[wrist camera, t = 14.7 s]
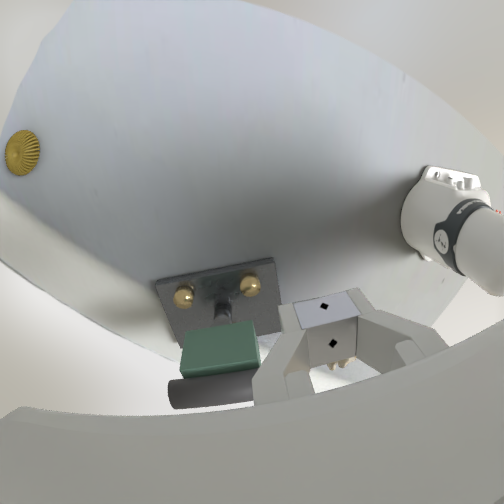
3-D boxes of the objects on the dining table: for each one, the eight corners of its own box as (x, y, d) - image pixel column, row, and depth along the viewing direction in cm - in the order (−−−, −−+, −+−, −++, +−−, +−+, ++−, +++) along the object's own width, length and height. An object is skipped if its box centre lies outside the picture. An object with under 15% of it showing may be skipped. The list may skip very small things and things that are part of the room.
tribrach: (272, 257, 48) (279, 277, 42) (283, 324, 54) (290, 348, 47) (157, 280, 48) (148, 302, 42) (182, 342, 54) (177, 367, 47)
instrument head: (261, 309, 43) (273, 380, 30) (267, 339, 45) (280, 408, 33) (177, 324, 43) (164, 394, 30) (189, 352, 45) (181, 420, 33)
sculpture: (0, 135, 31) (30, 126, 32) (13, 134, 35) (43, 125, 36) (2, 180, 34) (32, 174, 35) (15, 175, 38) (45, 170, 39)
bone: (346, 367, 58) (341, 390, 49) (322, 354, 60) (313, 375, 51) (367, 337, 56) (366, 358, 47) (342, 323, 58) (337, 341, 49)
